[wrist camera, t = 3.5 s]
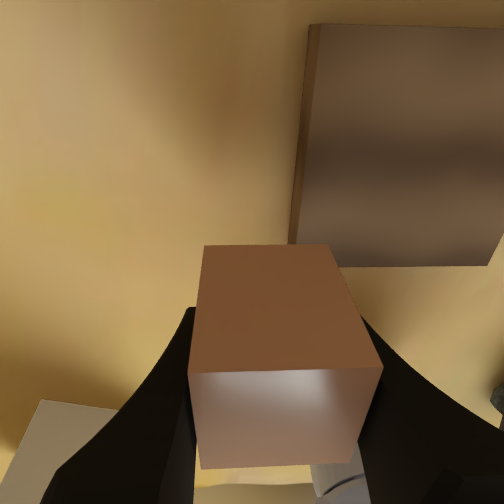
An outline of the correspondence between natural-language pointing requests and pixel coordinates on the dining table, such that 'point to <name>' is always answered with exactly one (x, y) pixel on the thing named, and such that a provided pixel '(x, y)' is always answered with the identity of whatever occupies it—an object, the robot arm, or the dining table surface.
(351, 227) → the walnut base slab
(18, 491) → the milk
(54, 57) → the dining table surface
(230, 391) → the terracotta block
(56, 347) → the dining table surface
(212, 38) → the dining table surface
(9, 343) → the dining table surface
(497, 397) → the mortar and pestle
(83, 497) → the robot arm
